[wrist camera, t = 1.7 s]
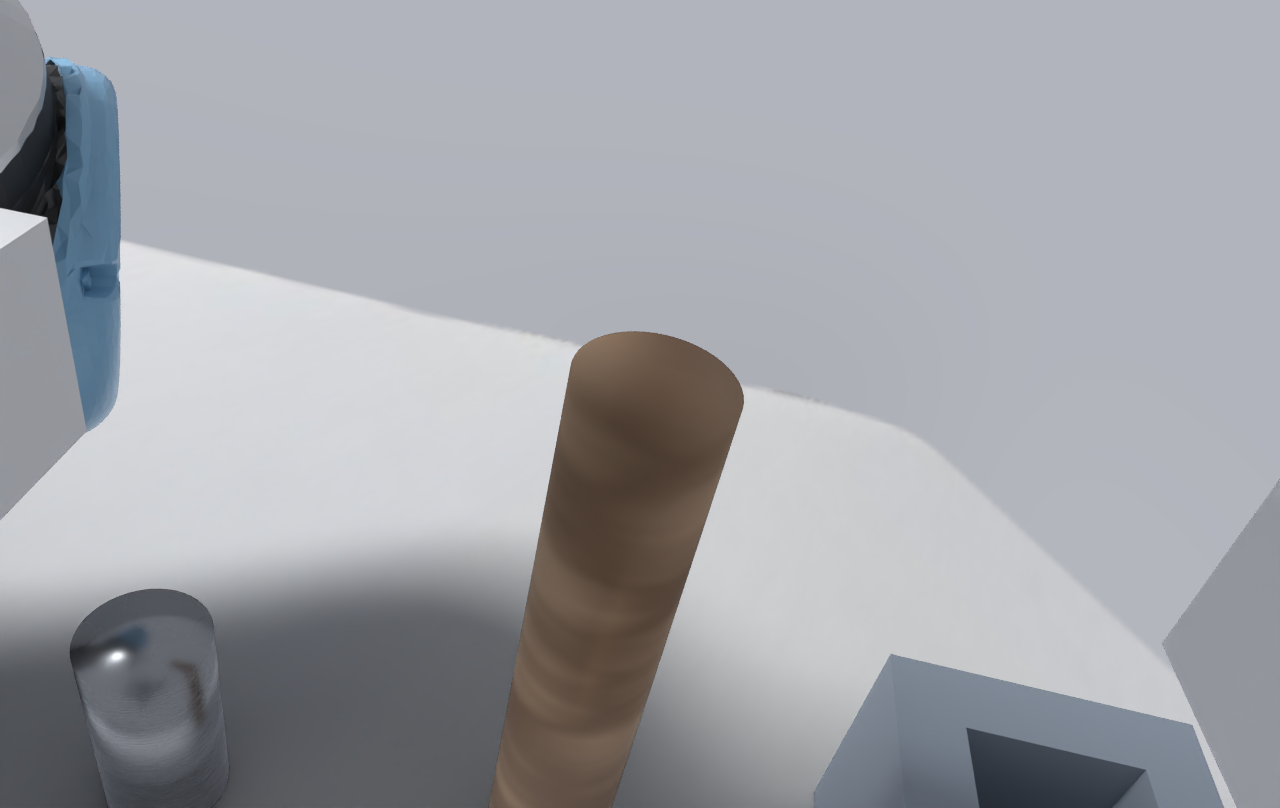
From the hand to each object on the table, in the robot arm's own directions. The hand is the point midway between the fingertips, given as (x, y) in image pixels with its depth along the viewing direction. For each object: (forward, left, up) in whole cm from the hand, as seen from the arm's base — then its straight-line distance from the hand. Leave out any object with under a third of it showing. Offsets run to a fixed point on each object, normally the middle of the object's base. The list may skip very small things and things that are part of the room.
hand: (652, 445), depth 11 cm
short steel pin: (-13, +10, -28) cm, 32 cm away
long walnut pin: (0, +10, -28) cm, 30 cm away
